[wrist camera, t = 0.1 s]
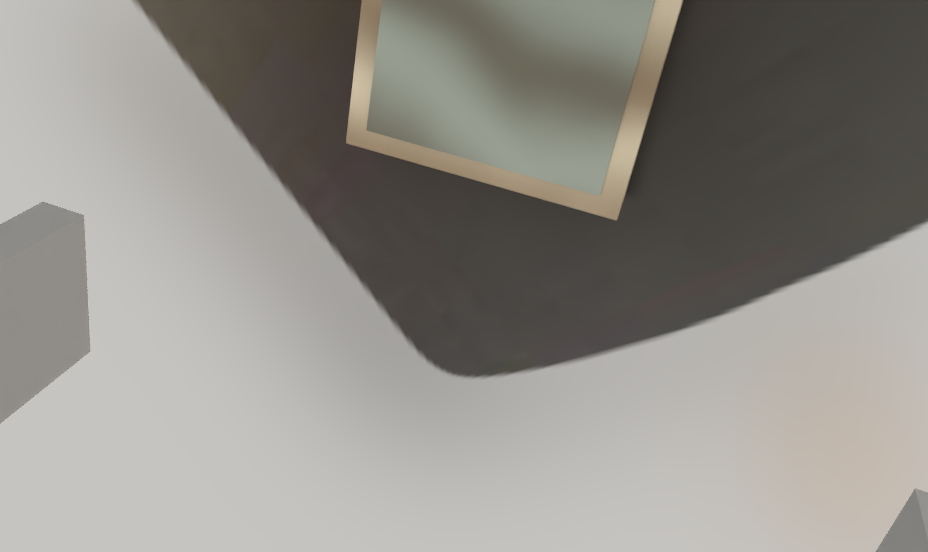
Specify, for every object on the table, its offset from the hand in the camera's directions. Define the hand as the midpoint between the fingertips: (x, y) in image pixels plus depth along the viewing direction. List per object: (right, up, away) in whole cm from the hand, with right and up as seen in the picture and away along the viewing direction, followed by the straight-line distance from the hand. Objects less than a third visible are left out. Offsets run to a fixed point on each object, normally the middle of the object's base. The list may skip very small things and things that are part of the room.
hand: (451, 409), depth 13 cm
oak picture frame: (+3, +13, +25) cm, 28 cm away
